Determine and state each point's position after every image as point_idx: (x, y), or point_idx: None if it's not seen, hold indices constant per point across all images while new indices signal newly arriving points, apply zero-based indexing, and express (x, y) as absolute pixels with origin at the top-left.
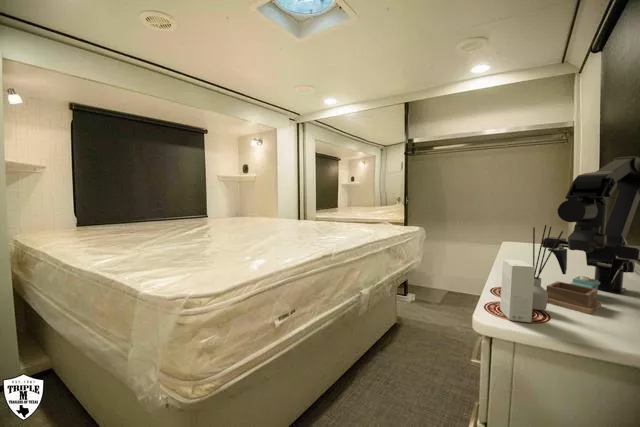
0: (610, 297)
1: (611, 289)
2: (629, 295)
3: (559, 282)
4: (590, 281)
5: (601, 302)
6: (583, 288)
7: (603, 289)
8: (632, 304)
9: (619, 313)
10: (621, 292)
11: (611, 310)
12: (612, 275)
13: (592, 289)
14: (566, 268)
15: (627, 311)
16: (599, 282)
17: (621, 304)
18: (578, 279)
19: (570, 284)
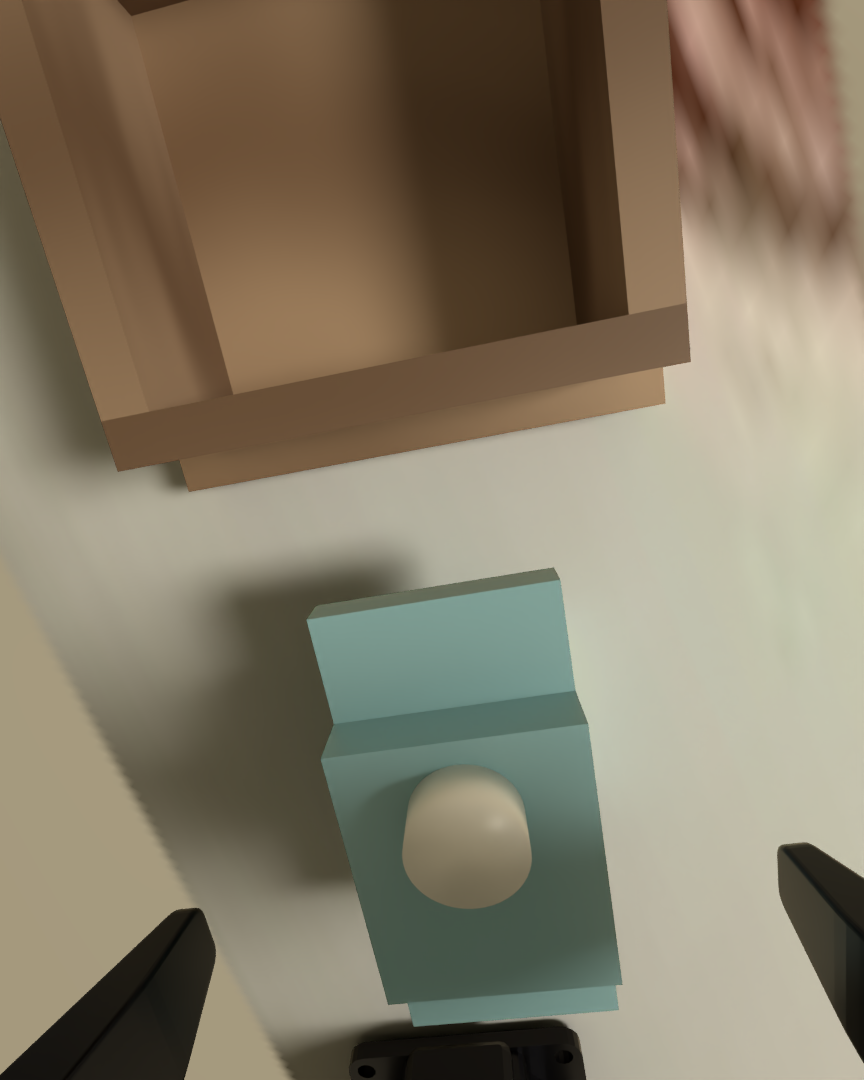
0: (341, 878)
1: (407, 1063)
2: (315, 1070)
3: (630, 296)
4: (387, 822)
5: (189, 487)
6: (277, 386)
7: (467, 1042)
8: (165, 831)
9: (27, 409)
10: (350, 1069)
11: (103, 435)
12: (48, 1048)
13: (155, 408)
14: (853, 1035)
15: (52, 562)
16: (409, 1004)
17: (191, 743)
18: (527, 776)
19: (463, 359)
